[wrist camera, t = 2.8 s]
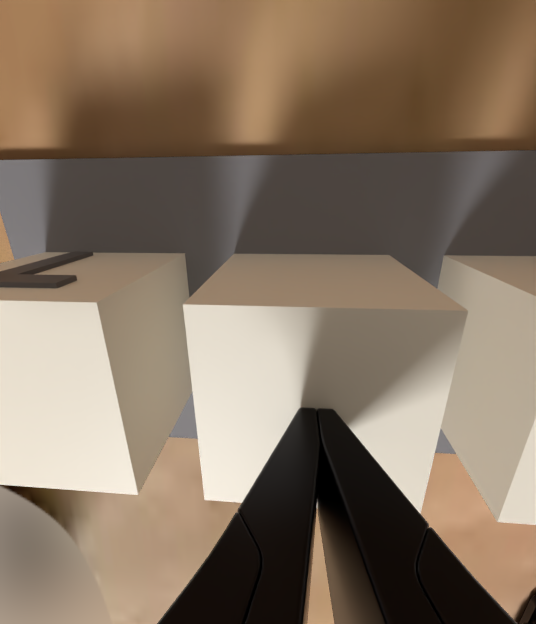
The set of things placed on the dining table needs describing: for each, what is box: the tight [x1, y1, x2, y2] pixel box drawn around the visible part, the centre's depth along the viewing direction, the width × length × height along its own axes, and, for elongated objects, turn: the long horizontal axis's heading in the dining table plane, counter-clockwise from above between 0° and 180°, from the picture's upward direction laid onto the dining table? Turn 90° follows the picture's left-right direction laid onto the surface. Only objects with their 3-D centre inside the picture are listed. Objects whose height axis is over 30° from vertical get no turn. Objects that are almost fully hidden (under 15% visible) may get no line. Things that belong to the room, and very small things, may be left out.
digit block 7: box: [0, 251, 192, 495], centre depth 11 cm, size 6×6×6 cm
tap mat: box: [0, 150, 536, 454], centre depth 14 cm, size 25×13×1 cm, turn 91°
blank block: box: [183, 254, 468, 514], centre depth 11 cm, size 6×6×6 cm
